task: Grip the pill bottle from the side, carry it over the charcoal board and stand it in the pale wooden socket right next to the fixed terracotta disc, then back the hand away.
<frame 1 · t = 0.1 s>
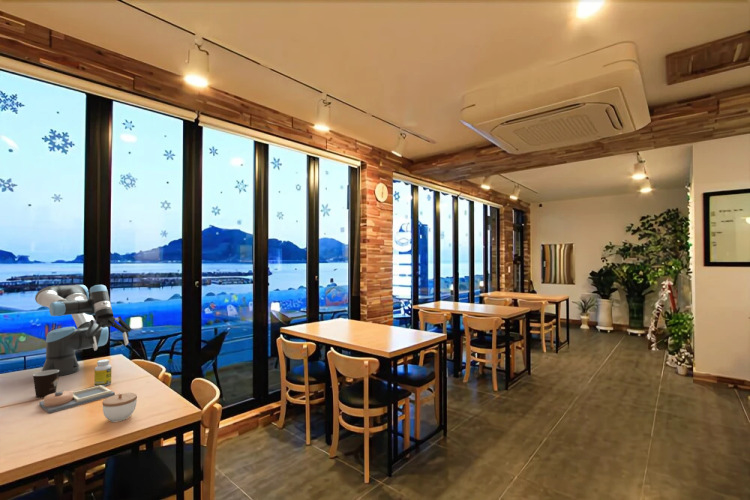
hand: (111, 346, 182), 15 cm above the table, tool tilted 35°, fingers open, 13 cm apart
pill bottle: (102, 385, 169), on the table
board: (78, 399, 151), on the table
lidded jar: (119, 419, 134), on the table
dark brown tapered cup: (49, 394, 158), on the table
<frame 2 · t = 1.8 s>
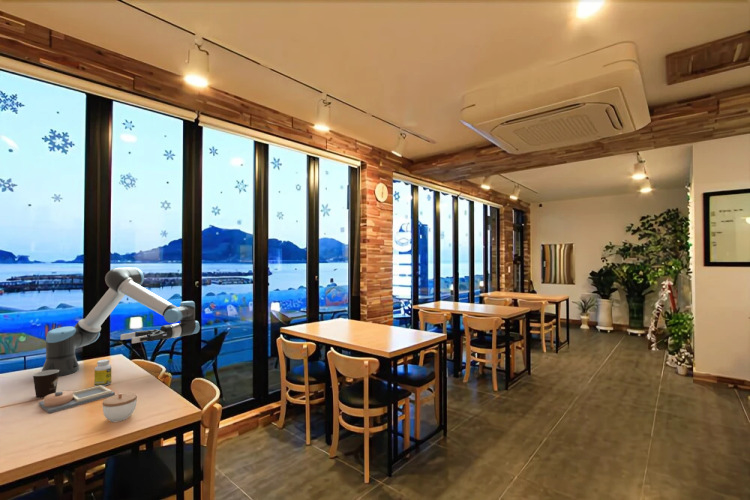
hand: (126, 338, 178), 20 cm above the table, tool horizontal, fingers open, 13 cm apart
nothing on the table moved.
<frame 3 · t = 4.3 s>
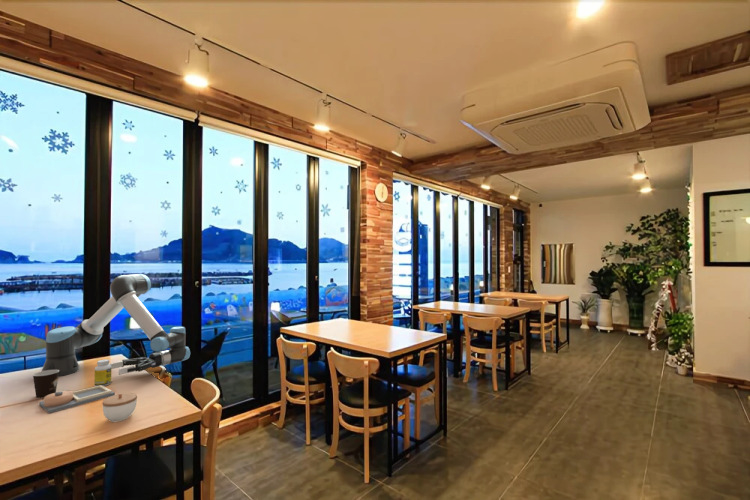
hand: (113, 369, 172), 6 cm above the table, tool horizontal, fingers open, 13 cm apart
nothing on the table moved.
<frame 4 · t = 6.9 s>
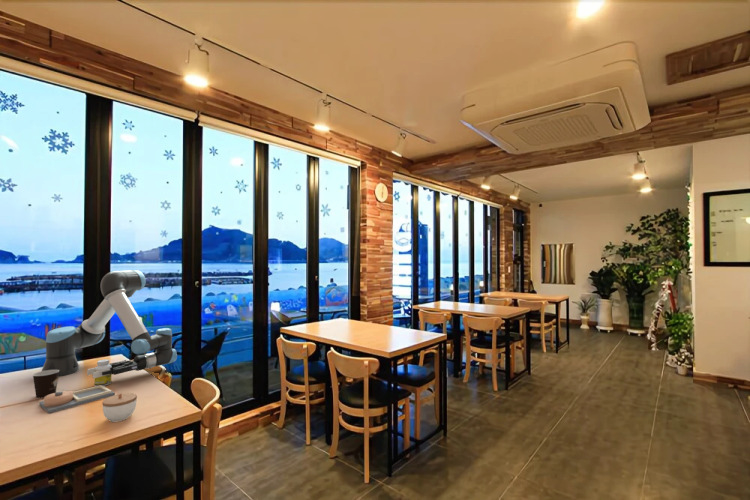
hand: (90, 373, 165), 7 cm above the table, tool horizontal, fingers closed on pill bottle, 6 cm apart
pill bottle: (102, 385, 169), on the table, touching gripper
everything else where it was.
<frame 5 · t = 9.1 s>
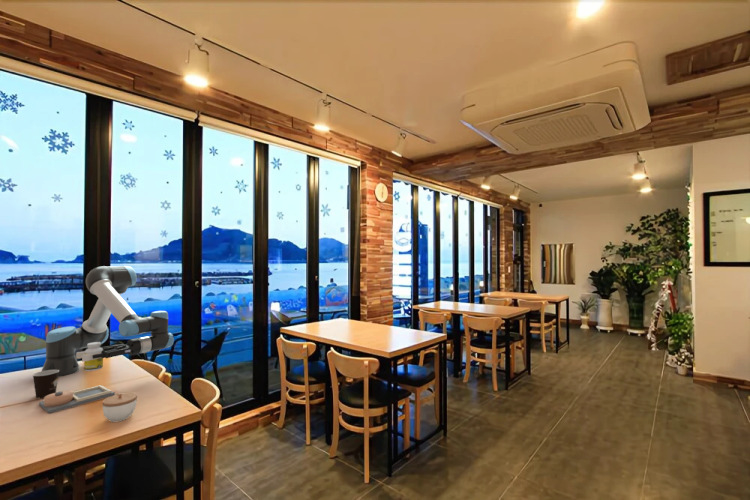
hand: (79, 357, 152), 18 cm above the table, tool horizontal, fingers closed on pill bottle, 6 cm apart
pill bottle: (93, 369, 157), point 11 cm above the table, touching gripper
everything else where it was.
when the fingers open (9 cm above the table, at t = 11.7 s): pill bottle drops 1 cm, resting on board.
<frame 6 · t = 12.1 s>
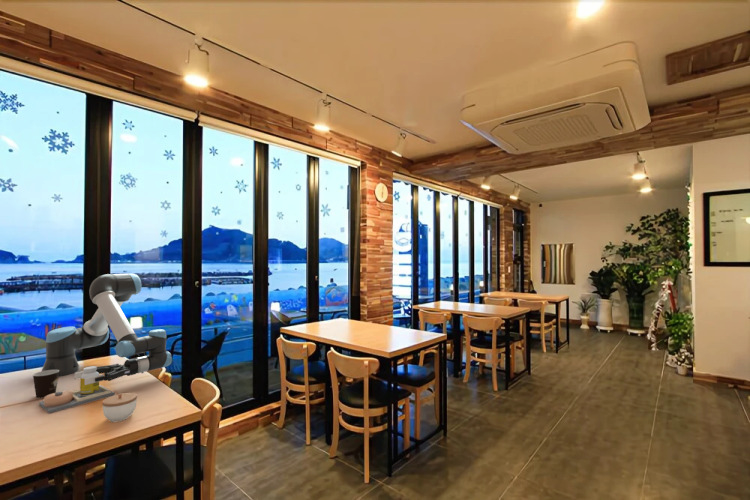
hand: (79, 378, 152), 9 cm above the table, tool horizontal, fingers open, 12 cm apart
pill bottle: (89, 394, 155), point 1 cm above the table, touching board
everything else where it was.
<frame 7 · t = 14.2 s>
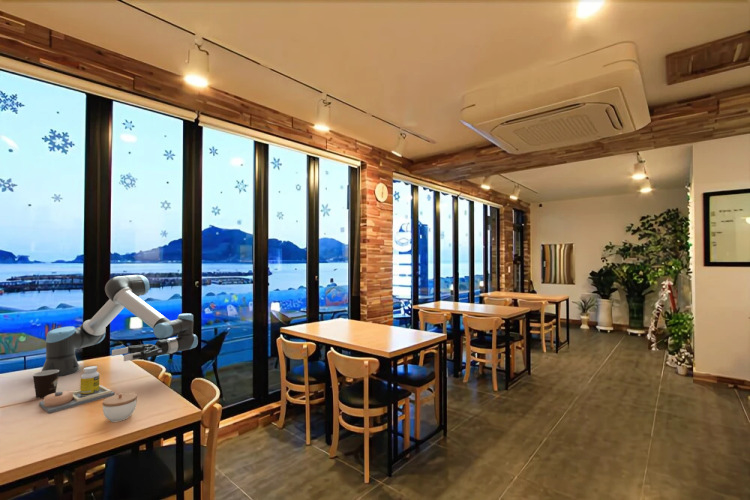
hand: (117, 355, 164), 16 cm above the table, tool horizontal, fingers open, 13 cm apart
nothing on the table moved.
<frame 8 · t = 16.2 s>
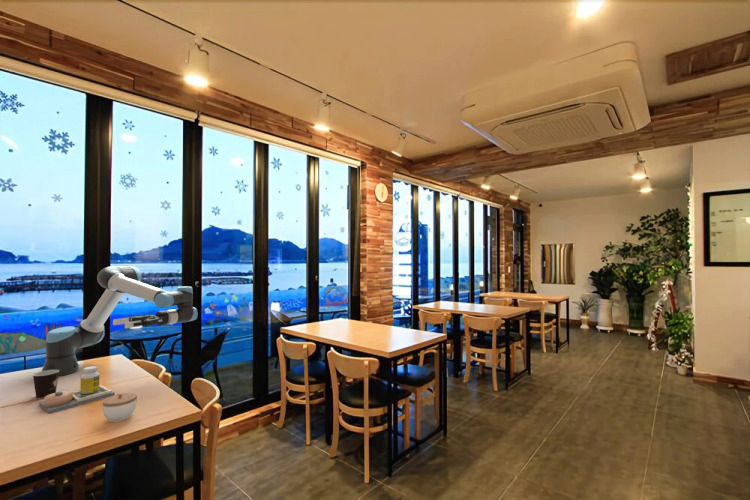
hand: (118, 323, 167), 30 cm above the table, tool horizontal, fingers open, 13 cm apart
nothing on the table moved.
at the end: pill bottle inside the target area (0.0 cm from its centre), point 1.0 cm above the table; pill bottle tilted 0°; the gripper is holding nothing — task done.
